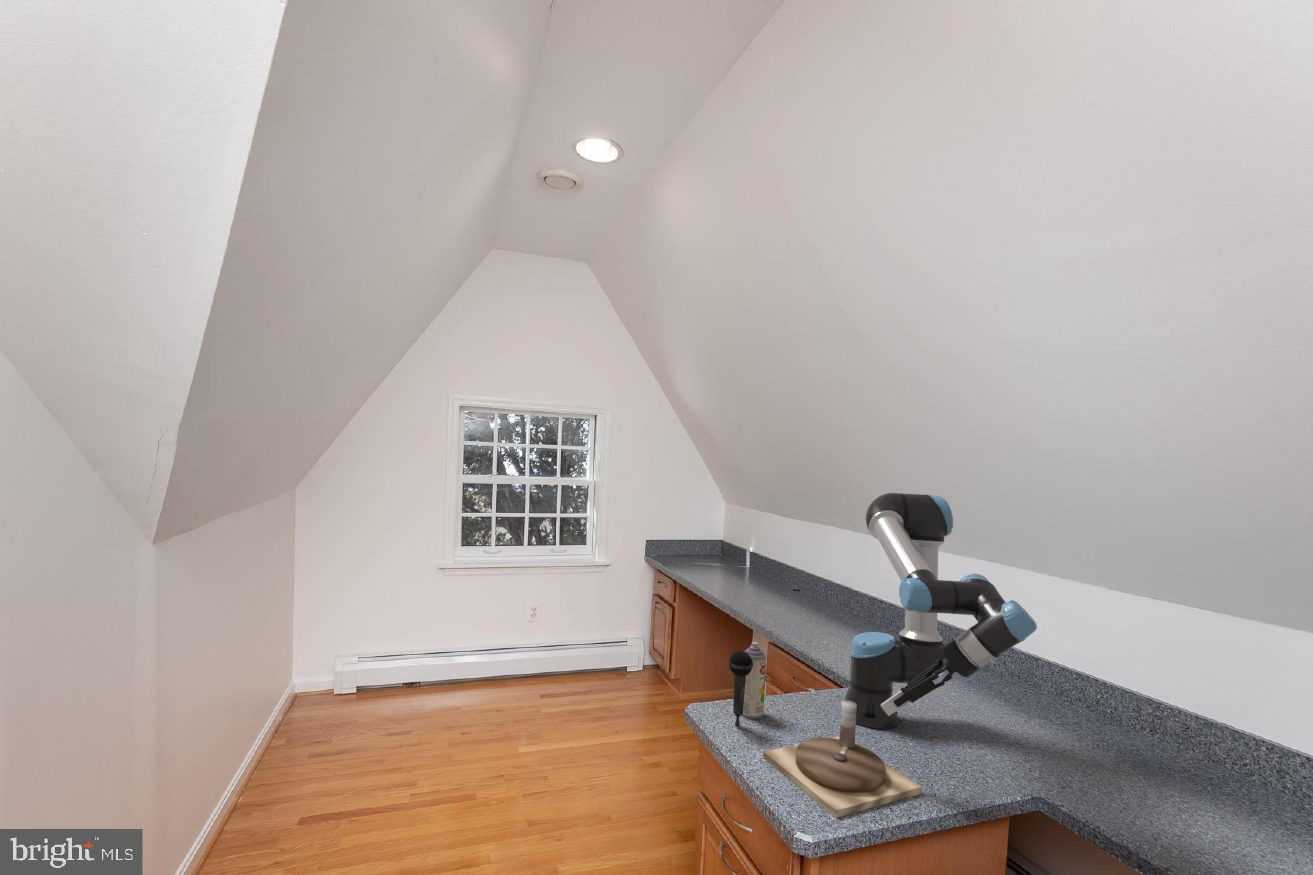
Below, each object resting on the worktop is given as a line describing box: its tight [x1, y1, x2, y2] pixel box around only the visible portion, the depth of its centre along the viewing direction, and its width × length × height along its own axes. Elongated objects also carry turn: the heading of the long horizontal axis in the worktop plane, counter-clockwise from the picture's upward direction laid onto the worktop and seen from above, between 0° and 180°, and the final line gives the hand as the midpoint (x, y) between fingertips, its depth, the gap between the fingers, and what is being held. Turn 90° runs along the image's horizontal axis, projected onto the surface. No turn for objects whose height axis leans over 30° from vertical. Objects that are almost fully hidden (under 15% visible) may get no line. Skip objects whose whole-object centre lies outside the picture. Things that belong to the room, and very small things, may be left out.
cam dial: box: [796, 699, 886, 792], centre depth 138 cm, size 20×20×12 cm
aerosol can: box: [740, 641, 767, 720], centre depth 169 cm, size 7×7×20 cm
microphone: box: [727, 650, 753, 727], centre depth 161 cm, size 7×7×20 cm
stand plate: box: [762, 735, 923, 819], centre depth 138 cm, size 25×25×2 cm
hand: (885, 709), depth 140 cm, fingers closed
